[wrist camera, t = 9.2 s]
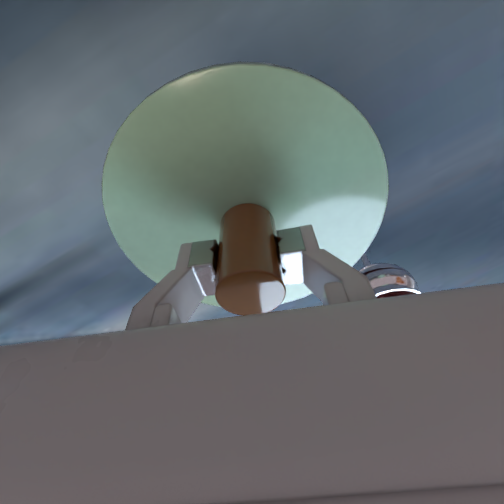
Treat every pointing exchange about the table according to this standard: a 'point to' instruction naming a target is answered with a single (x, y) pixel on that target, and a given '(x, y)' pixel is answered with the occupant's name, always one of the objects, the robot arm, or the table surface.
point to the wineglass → (388, 279)
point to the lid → (243, 177)
